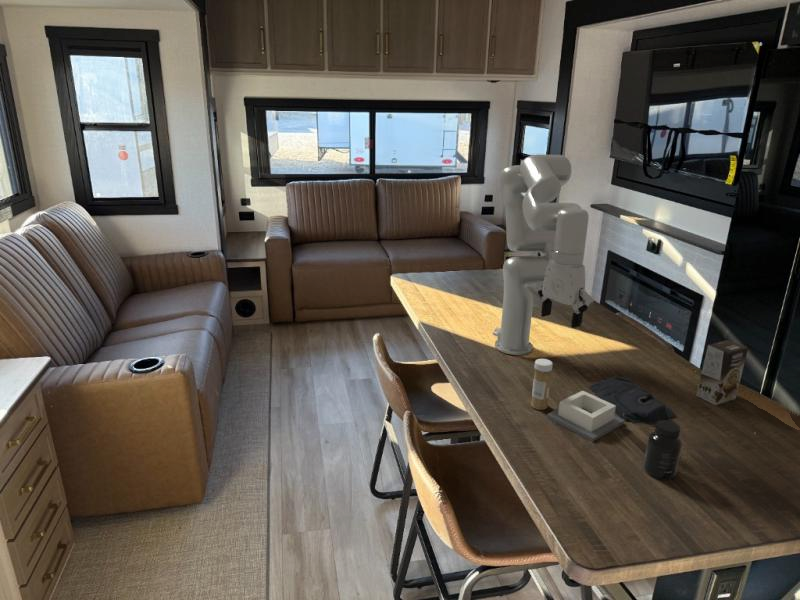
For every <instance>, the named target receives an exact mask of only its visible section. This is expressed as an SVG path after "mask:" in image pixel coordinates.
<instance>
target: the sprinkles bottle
mask: <svg viewBox="0 0 800 600" xmlns="http://www.w3.org/2000/svg"><path fill="white" fill-rule="evenodd" d="M553 364H554V363H553V361H551V360H549V359H547V358H538V359H535V361H534V375H533V381H532V382H533V383H532V391H531V395H532V396H531V402H530V406H531V407H532V408H533V409H536V410H538V411H543V410H546V409H547V408H548V404H549V403H548V401H549V396H550V384H551V377H552V376H551V373H552V371H553Z"/></svg>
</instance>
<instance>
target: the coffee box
mask: <svg viewBox="0 0 800 600" xmlns="http://www.w3.org/2000/svg"><path fill="white" fill-rule="evenodd" d="M748 350H749V347H748V346H747V345H743V344H741V343H737V342H734V341H731V340H729V339H726V340H722V341H718V342H714V343H711V344H707V348H706V352H705V356H704V357H705V358H704V360H703V365H702V370H701V375H700V378H699V382H698V386H697V390H696V397H698V398H701V399H702V400H704V401H706V402H708V403H710V404H712V405H714V406H718V405H720V404H724V403H727V402H731V401H733V400H736V398H737V394H738V391H739V387H740V382H741V379H742V374H743V370H744V366H745V362H746V359H747V355H748Z"/></svg>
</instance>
